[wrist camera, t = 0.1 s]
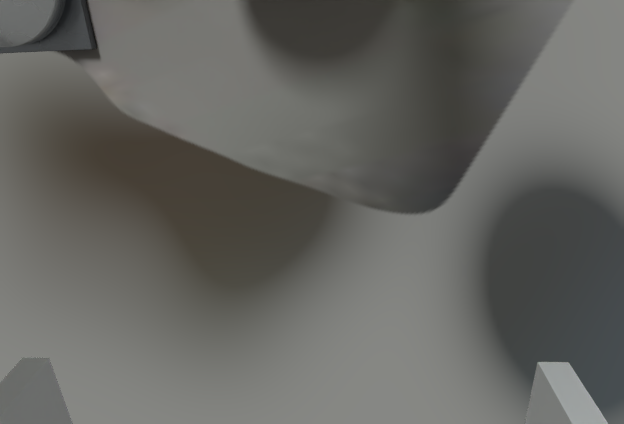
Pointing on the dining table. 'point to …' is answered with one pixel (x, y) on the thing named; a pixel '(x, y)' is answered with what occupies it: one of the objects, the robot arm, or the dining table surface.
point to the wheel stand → (64, 32)
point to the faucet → (28, 20)
